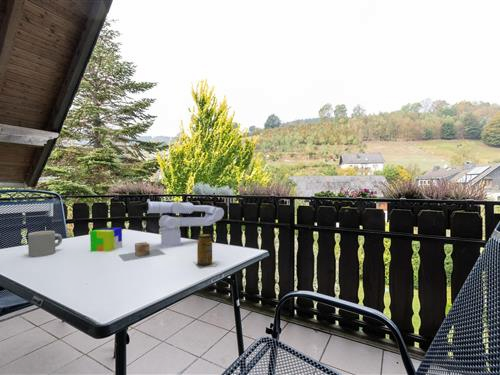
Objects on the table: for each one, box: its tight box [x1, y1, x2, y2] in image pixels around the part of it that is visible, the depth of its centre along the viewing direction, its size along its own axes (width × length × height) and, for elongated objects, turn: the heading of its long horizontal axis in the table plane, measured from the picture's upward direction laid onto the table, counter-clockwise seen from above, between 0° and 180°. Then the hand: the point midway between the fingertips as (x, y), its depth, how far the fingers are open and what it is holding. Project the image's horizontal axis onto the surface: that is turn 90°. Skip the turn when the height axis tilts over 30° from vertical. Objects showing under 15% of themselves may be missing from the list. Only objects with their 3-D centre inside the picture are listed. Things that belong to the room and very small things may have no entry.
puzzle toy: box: [89, 227, 123, 253], centre depth 134 cm, size 10×10×10 cm
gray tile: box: [118, 248, 166, 262], centre depth 124 cm, size 18×12×1 cm, turn 127°
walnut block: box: [134, 241, 150, 257], centre depth 124 cm, size 5×5×5 cm
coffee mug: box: [27, 230, 63, 258], centre depth 127 cm, size 13×10×10 cm
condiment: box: [193, 233, 217, 269], centre depth 111 cm, size 7×8×12 cm
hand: (129, 206), depth 129 cm, fingers open, 7 cm apart
